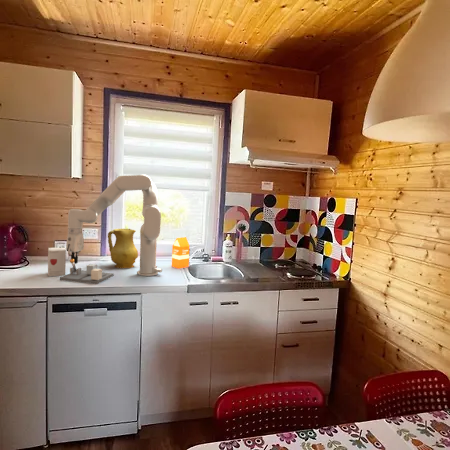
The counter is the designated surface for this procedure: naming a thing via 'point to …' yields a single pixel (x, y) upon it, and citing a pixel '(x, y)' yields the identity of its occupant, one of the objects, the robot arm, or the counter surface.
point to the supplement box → (56, 261)
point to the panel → (84, 277)
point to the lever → (73, 265)
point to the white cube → (90, 268)
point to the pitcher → (123, 248)
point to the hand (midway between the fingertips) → (74, 263)
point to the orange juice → (180, 253)
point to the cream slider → (96, 274)
